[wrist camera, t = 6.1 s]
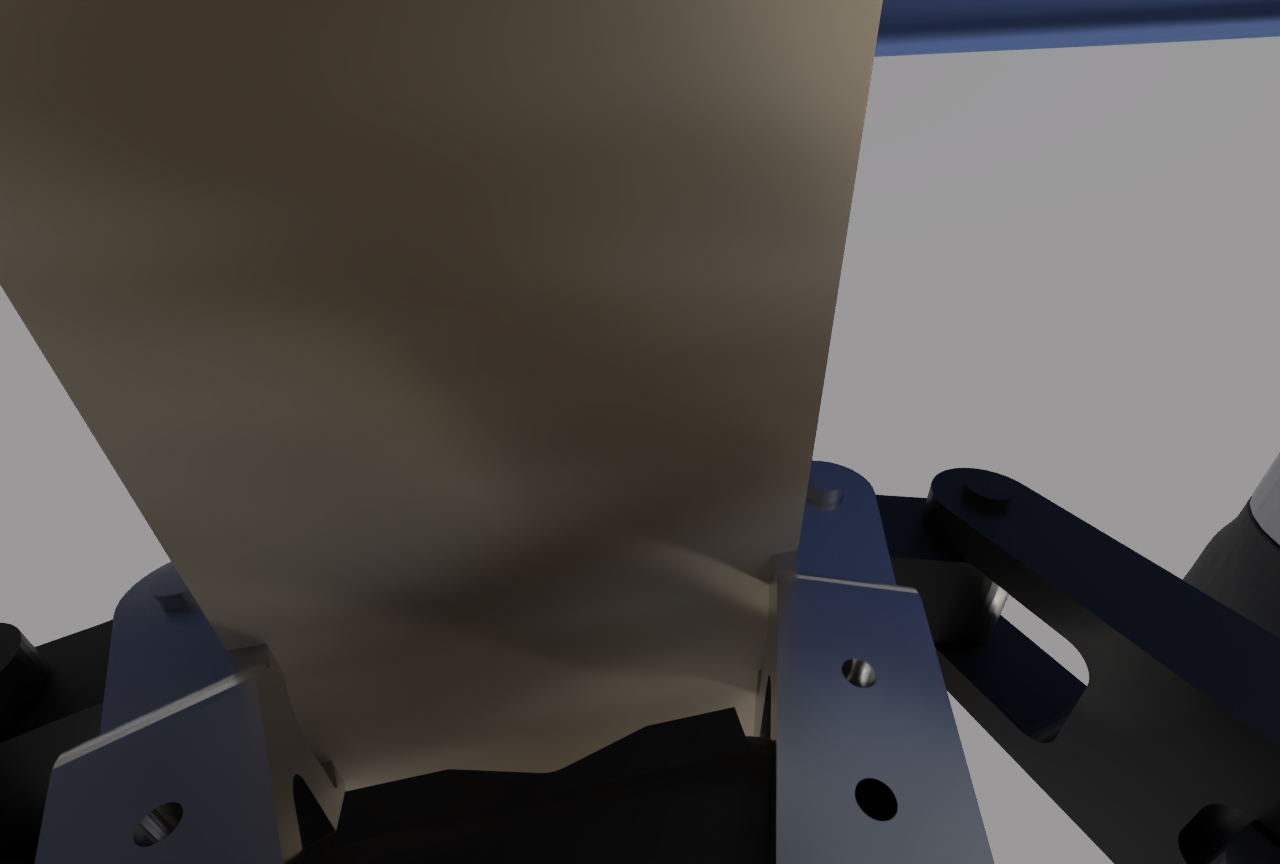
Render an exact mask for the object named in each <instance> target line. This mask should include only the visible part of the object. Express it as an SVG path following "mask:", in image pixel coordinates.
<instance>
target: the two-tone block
mask: <svg viewBox="0 0 1280 864" xmlns="http://www.w3.org/2000/svg"><path fill="white" fill-rule="evenodd" d="M882 3H883V0H0V285H1V287H2V288H3V290H4V291H5V293H6V295H7V296H8V298H9V300H10V301H11V303H12V304H13V306H14V308H15V309H16V311H17V313H18V314H19V316H20V317H21V319H22V321H23V322H24V324H25V325H26V327H27V329H28V330H29V332H30V333H31V335H32V337H33V338H34V340H35V342H36V343H37V345H38V346H39V348H40V350H41V351H42V353H43V354H44V356H45V358H46V359H47V361H48V363H49V364H50V366H51V367H52V369H53V371H54V372H55V374H56V375H57V377H58V379H59V380H60V382H61V384H62V385H63V387H64V389H65V390H66V392H67V393H68V395H69V397H70V398H71V400H72V401H73V403H74V405H75V406H76V408H77V409H78V411H79V413H80V414H81V416H82V418H83V419H84V421H85V422H86V424H87V426H88V427H89V429H90V431H91V432H92V434H93V435H94V437H95V438H96V440H97V442H98V443H99V445H100V447H101V448H102V450H103V452H104V453H105V455H106V456H107V458H108V460H109V461H110V463H111V465H112V466H113V468H114V469H115V471H116V473H117V474H118V476H119V477H120V479H121V481H122V482H123V484H124V486H125V487H126V488H127V490H128V492H129V494H130V495H131V497H132V498H133V500H134V501H135V503H136V505H137V507H138V508H139V510H140V511H141V513H142V515H143V516H144V518H145V520H146V521H147V523H148V524H149V526H150V527H151V529H152V530H153V532H154V534H155V536H156V537H157V539H158V541H159V542H160V543H161V545H162V547H163V549H164V550H165V552H166V553H167V555H168V557H169V558H170V560H171V562H172V563H173V565H174V566H175V568H176V570H177V571H178V573H179V575H180V576H181V578H182V579H183V581H184V583H185V584H186V586H187V587H188V589H189V591H190V592H191V594H192V596H193V597H194V599H195V600H196V602H197V604H198V605H199V607H200V608H201V610H202V612H203V613H204V615H205V617H206V618H207V620H208V621H209V623H210V625H211V626H212V628H213V629H214V631H215V633H216V634H217V636H218V638H219V639H220V641H221V642H222V644H223V646H224V647H225V649H226V651H227V650H233V649H238V648H244V647H250V646H255V645H261V644H268V646H269V648H270V650H271V652H272V653H273V655H274V657H275V659H276V661H277V662H278V664H279V666H280V668H281V670H282V671H283V673H284V676H285V682H286V687H287V692H288V696H289V699H290V703H291V706H292V709H293V712H294V714H295V717H296V719H297V722H298V724H299V726H300V728H301V731H302V732H303V734H304V736H305V738H306V739H307V741H308V743H309V745H310V746H311V748H312V750H313V752H314V753H315V755H316V757H317V758H318V760H319V762H320V763H323V762H328V761H333V763H334V765H335V767H336V768H337V770H338V772H339V774H340V776H341V777H342V779H343V781H344V783H345V787H346V791H350V790H355V789H359V788H364V787H368V786H373V785H378V784H382V783H387V782H391V781H396V780H401V779H405V778H410V777H414V776H419V775H424V774H428V773H433V772H437V771H442V770H447V769H460V770H483V771H507V772H530V773H549V772H554V771H557V770H559V769H562V768H564V767H566V766H568V765H570V764H572V763H574V762H576V761H578V760H580V759H582V758H584V757H586V756H588V755H590V754H592V753H594V752H596V751H598V750H600V749H602V748H604V747H606V746H608V745H610V744H612V743H614V742H616V741H618V740H620V739H622V738H624V737H626V736H628V735H630V734H632V733H633V732H635V731H637V730H639V729H641V728H643V727H645V726H649V725H653V724H658V723H662V722H667V721H672V720H676V719H681V718H685V717H690V716H695V715H699V714H704V713H708V712H713V711H718V710H722V709H727V708H731V707H735V710H736V712H737V715H738V717H739V720H740V723H741V725H742V728H743V731H744V733H745V736H753V733H754V718H755V696H756V686H757V678H758V671H761V670H762V667H763V659H764V651H765V644H766V635H767V624H768V608H769V582H770V574H771V566H772V558H773V554H778V553H784V552H790V551H795V550H798V547H799V540H800V534H801V527H802V521H803V514H804V508H805V501H806V495H807V488H808V482H809V475H810V469H811V462H812V456H813V449H814V442H815V437H816V430H817V424H818V417H819V410H820V404H821V397H822V391H823V385H824V378H825V372H826V365H827V359H828V352H829V346H830V339H831V333H832V326H833V320H834V314H835V307H836V301H837V294H838V288H839V280H840V274H841V268H842V261H843V255H844V249H845V242H846V236H847V229H848V223H849V216H850V210H851V203H852V197H853V190H854V184H855V177H856V171H857V164H858V158H859V151H860V144H861V139H862V132H863V126H864V119H865V113H866V106H867V100H868V93H869V87H870V80H871V74H872V67H873V61H874V55H875V48H876V42H877V35H878V29H879V22H880V16H881V9H882Z"/></svg>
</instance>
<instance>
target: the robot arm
mask: <svg viewBox="0 0 1280 864" xmlns="http://www.w3.org/2000/svg"><path fill="white" fill-rule="evenodd" d="M1009 594H1010V595H1011V596H1012V597H1013V598H1015V599H1016V600H1017V601H1018V602H1020V603H1021V604H1022V605H1024V606H1025V607H1026V608H1027V609H1029V610H1030V611H1031V612H1032V613H1034V614H1035V615H1036V616H1038V617H1039V618H1040V619H1042V620H1043V621H1044V622H1045V623H1047V624H1048V625H1049V626H1051V627H1052V628H1053V629H1054V630H1055V631H1057V632H1058V633H1059V634H1061V635H1062V636H1063V637H1065V638H1066V639H1067V640H1068V641H1069V642H1070V643H1072V644H1073V645H1074V647H1075V648H1076V649H1077V650H1078V651H1079V652H1080V654H1081V655H1082V657H1083V658H1084V660H1085V662H1086V664H1087V667H1088V671H1089V684H1088V686H1086V685H1084V684H1083V683H1082V682H1081V681H1080V680H1078V679H1077V678H1076V677H1075V676H1074V675H1072V674H1071V673H1070V672H1069V671H1068V670H1066V669H1065V668H1064V667H1063V666H1062V665H1060V664H1059V663H1058V662H1056V660H1054V659H1053V658H1052V657H1051V656H1050V655H1048V654H1047V653H1046V652H1045V651H1043V650H1042V649H1041V648H1040V647H1038V646H1037V645H1036V644H1035V643H1034V642H1033V641H1031V640H1030V639H1029V638H1028V637H1026V636H1025V635H1024V634H1023V633H1022V632H1020V631H1019V630H1018V629H1017V628H1016V627H1014V626H1013V625H1012V624H1010V622H1008V621H1007V620H1006V619H1005V618H1004V617H1002V616H1001V615H1000V614H1001V611H1002V609H1003V607H1004V604H1005V602H1006V600H1007V597H1008V595H1009ZM947 691H948V692H949V693H950V694H951V695H952V696H953V697H954V698H955V699H956V700H957V701H958V702H959V703H960V704H961V705H962V706H963V707H964V708H965V709H966V710H967V711H968V712H969V714H970V715H971V716H972V717H973V718H974V719H975V720H976V721H977V722H978V723H979V724H980V725H981V726H982V727H983V728H984V729H985V730H986V731H987V732H988V733H989V734H990V735H991V736H992V737H993V738H994V739H995V740H996V742H998V743H999V744H1000V746H1001V747H1002V748H1003V749H1004V750H1005V751H1006V752H1007V753H1008V754H1009V755H1010V756H1011V757H1012V758H1013V759H1014V760H1015V761H1016V762H1017V763H1018V764H1019V765H1020V766H1021V767H1022V768H1023V769H1024V770H1025V771H1026V773H1027V774H1028V775H1029V776H1030V777H1031V778H1032V779H1033V780H1034V781H1036V783H1037V784H1038V785H1039V786H1040V787H1041V788H1042V789H1043V790H1044V791H1045V792H1046V793H1047V794H1048V795H1049V796H1050V797H1051V798H1052V799H1053V800H1054V801H1055V803H1056V804H1057V805H1058V806H1059V807H1060V808H1061V809H1062V810H1063V811H1064V812H1065V813H1066V814H1067V815H1068V816H1069V817H1070V818H1071V819H1072V820H1073V821H1074V822H1075V823H1076V824H1077V825H1078V826H1079V827H1080V828H1081V829H1082V831H1083V832H1084V833H1086V834H1087V836H1088V837H1089V838H1090V839H1091V840H1092V841H1093V842H1094V843H1095V844H1096V845H1097V846H1098V847H1099V848H1100V849H1101V850H1102V851H1103V852H1104V853H1105V854H1106V855H1107V856H1108V857H1109V859H1110V860H1111V861H1112V862H1113V863H1114V864H1280V453H1279V455H1278V456H1277V458H1276V459H1275V461H1274V462H1273V464H1272V465H1271V467H1270V468H1269V470H1268V471H1267V473H1266V474H1265V476H1264V477H1263V479H1262V481H1261V482H1260V484H1259V485H1258V487H1257V488H1256V490H1255V491H1254V493H1253V495H1252V496H1251V497H1250V499H1249V500H1248V502H1247V504H1246V505H1245V507H1244V508H1243V510H1242V511H1241V512H1240V514H1239V515H1238V517H1237V518H1236V519H1234V520H1233V521H1232V522H1230V523H1229V524H1228V525H1226V526H1225V527H1224V528H1223V529H1221V530H1220V531H1219V532H1218V533H1217V534H1216V535H1215V536H1214V537H1213V538H1212V540H1211V541H1210V542H1209V543H1208V545H1207V546H1206V548H1205V549H1204V551H1203V552H1202V553H1201V555H1200V556H1199V558H1198V559H1197V561H1196V562H1195V564H1194V565H1193V567H1192V568H1191V569H1190V571H1189V572H1188V574H1187V575H1186V576H1185V577H1184V579H1183V580H1182V579H1180V578H1178V577H1177V576H1175V575H1173V574H1172V573H1170V572H1168V571H1167V570H1165V569H1163V568H1162V567H1160V566H1158V565H1157V564H1155V563H1153V562H1152V561H1150V560H1148V559H1147V558H1145V557H1143V556H1142V555H1140V554H1138V553H1137V552H1134V551H1133V550H1132V549H1130V548H1128V547H1127V546H1125V545H1123V544H1121V543H1120V542H1118V541H1116V540H1115V539H1113V538H1111V537H1110V536H1108V535H1106V534H1105V533H1103V532H1101V531H1100V530H1098V529H1096V528H1095V527H1093V526H1091V525H1090V524H1088V523H1086V522H1085V521H1083V520H1081V519H1080V518H1078V517H1076V516H1075V515H1073V514H1071V513H1070V512H1068V511H1066V510H1065V509H1063V508H1061V507H1059V506H1058V505H1056V504H1055V503H1053V502H1051V501H1050V500H1048V499H1046V498H1045V497H1043V496H1041V495H1040V494H1038V493H1036V492H1034V491H1033V490H1031V489H1030V488H1028V487H1026V486H1024V485H1023V484H1021V483H1019V482H1017V481H1015V480H1013V479H1011V478H1009V477H1006V476H1004V475H1001V474H998V473H994V472H990V471H987V470H980V469H974V468H955V469H950V470H946V471H943V472H941V473H939V474H938V475H936V476H935V478H934V479H933V481H932V483H931V487H930V490H929V494H928V497H927V498H914V497H900V496H899V497H898V496H884V495H875V492H874V490H873V487H872V486H871V484H870V483H869V482H868V481H867V480H866V479H865V478H864V477H863V476H861V475H860V474H858V473H856V472H855V471H853V470H851V469H849V468H846V467H844V466H841V465H838V464H834V463H830V462H823V461H813V460H812V462H811V469H810V475H809V482H808V488H807V495H806V501H805V508H804V514H803V521H802V527H801V534H800V540H799V547H798V550H795V551H790V552H784V553H778V554H773V558H772V566H771V574H770V582H769V608H768V624H767V635H766V644H765V651H764V659H763V667H762V670H761V671H758V678H757V686H756V696H755V718H754V733H753V736H745V733H744V731H743V728H742V725H741V723H740V720H739V717H738V715H737V712H736V710H735V707H731V708H727V709H722V710H718V711H713V712H708V713H704V714H699V715H695V716H690V717H685V718H681V719H676V720H672V721H667V722H662V723H658V724H653V725H649V726H645V727H643V728H641V729H639V730H637V731H635V732H633V733H632V734H630V735H628V736H626V737H624V738H622V739H620V740H618V741H616V742H614V743H612V744H610V745H608V746H606V747H604V748H602V749H600V750H598V751H596V752H594V753H592V754H590V755H588V756H586V757H584V758H582V759H580V760H578V761H576V762H574V763H572V764H570V765H568V766H566V767H564V768H562V769H559V770H557V771H554V772H549V773H530V772H507V771H483V770H460V769H447V770H442V771H437V772H433V773H428V774H424V775H419V776H414V777H410V778H405V779H401V780H396V781H391V782H387V783H382V784H378V785H373V786H368V787H364V788H359V789H355V790H350V791H346V787H345V783H344V781H343V779H342V777H341V776H340V774H339V772H338V770H337V768H336V767H335V765H334V763H333V761H328V762H323V763H320V762H319V760H318V758H317V757H316V755H315V753H314V752H313V750H312V748H311V746H310V745H309V743H308V741H307V739H306V738H305V736H304V734H303V732H302V731H301V728H300V726H299V724H298V722H297V719H296V717H295V714H294V712H293V709H292V706H291V703H290V699H289V696H288V692H287V687H286V682H285V676H284V673H283V671H282V670H281V668H280V666H279V664H278V662H277V661H276V659H275V657H274V655H273V653H272V652H271V650H270V648H269V646H268V644H261V645H255V646H250V647H244V648H238V649H233V650H227V651H226V649H225V647H224V646H223V644H222V642H221V641H220V639H219V638H218V636H217V634H216V633H215V631H214V629H213V628H212V626H211V625H210V623H209V621H208V620H207V618H206V617H205V615H204V613H203V612H202V610H201V608H200V607H199V605H198V604H197V602H196V600H195V599H194V597H193V596H192V594H191V592H190V591H189V589H188V587H187V586H186V584H185V583H184V581H183V579H182V578H181V576H180V575H179V573H178V571H177V570H176V568H175V566H174V565H173V563H172V562H170V563H168V564H165V565H164V566H162V567H160V568H158V569H156V570H155V571H153V572H151V573H150V574H148V575H147V576H145V577H144V578H143V579H141V580H140V581H139V582H138V583H136V584H135V585H134V586H133V587H132V588H131V589H130V590H129V591H128V592H127V593H126V594H125V595H124V596H123V598H122V599H121V600H120V602H119V604H118V605H117V607H116V610H115V613H114V618H113V620H110V621H108V622H105V623H103V624H100V625H97V626H94V627H91V628H89V629H86V630H83V631H80V632H77V633H74V634H71V635H69V636H66V637H63V638H60V639H57V640H54V641H51V642H49V643H46V644H43V645H40V646H37V647H34V646H33V645H32V644H31V643H30V642H29V641H28V639H26V637H25V636H24V635H23V634H22V633H21V632H20V630H19V629H18V628H16V627H15V626H13V625H11V624H6V623H0V864H994V861H993V857H992V853H991V850H990V846H989V843H988V839H987V835H986V831H985V828H984V824H983V821H982V817H981V813H980V810H979V806H978V802H977V799H976V795H975V792H974V788H973V784H972V781H971V778H970V773H969V770H968V766H967V763H966V759H965V755H964V752H963V748H962V745H961V741H960V737H959V734H958V730H957V726H956V723H955V719H954V715H953V712H952V708H951V705H950V701H949V697H948V694H947Z"/></svg>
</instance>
